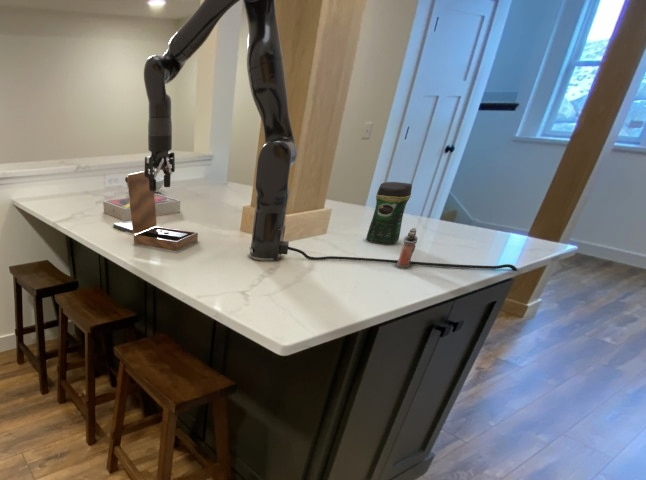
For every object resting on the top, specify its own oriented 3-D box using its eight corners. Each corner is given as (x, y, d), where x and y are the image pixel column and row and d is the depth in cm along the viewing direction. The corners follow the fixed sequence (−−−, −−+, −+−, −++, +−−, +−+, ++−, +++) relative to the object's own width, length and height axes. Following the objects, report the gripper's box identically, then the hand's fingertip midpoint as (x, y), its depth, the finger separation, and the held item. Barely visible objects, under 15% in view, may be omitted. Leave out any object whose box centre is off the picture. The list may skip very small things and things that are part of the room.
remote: (188, 243, 156) (188, 232, 154) (180, 246, 153) (180, 236, 151) (153, 237, 164) (153, 227, 162) (145, 240, 161) (145, 230, 159)
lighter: (408, 269, 127) (419, 233, 122) (395, 267, 129) (405, 232, 123) (410, 261, 133) (421, 227, 127) (398, 260, 134) (408, 225, 129)
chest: (197, 242, 158) (198, 232, 156) (176, 252, 149) (176, 241, 147) (156, 236, 168) (155, 226, 166) (134, 245, 159) (133, 234, 157)
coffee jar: (400, 241, 150) (417, 181, 140) (391, 246, 146) (408, 185, 136) (371, 236, 156) (385, 179, 146) (361, 241, 152) (376, 182, 142)
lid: (152, 169, 156) (140, 170, 159) (128, 174, 147) (116, 175, 150) (156, 225, 166) (145, 225, 169) (134, 233, 157) (122, 233, 160)
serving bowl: (123, 196, 239) (122, 182, 235) (129, 189, 256) (129, 176, 253) (161, 195, 236) (161, 181, 232) (165, 188, 253) (165, 175, 249)
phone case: (112, 227, 183) (131, 234, 171) (112, 223, 182) (131, 230, 170) (130, 224, 187) (151, 231, 175) (130, 220, 186) (150, 226, 174)
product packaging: (180, 212, 201) (180, 200, 198) (125, 221, 191) (124, 208, 188) (155, 204, 217) (155, 193, 215) (103, 212, 207) (103, 201, 204)
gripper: (157, 135, 134) (157, 193, 143) (181, 132, 143) (180, 186, 152) (137, 135, 138) (138, 191, 147) (162, 132, 147) (162, 185, 156)
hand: (160, 189), depth 149 cm, fingers open, 8 cm apart
